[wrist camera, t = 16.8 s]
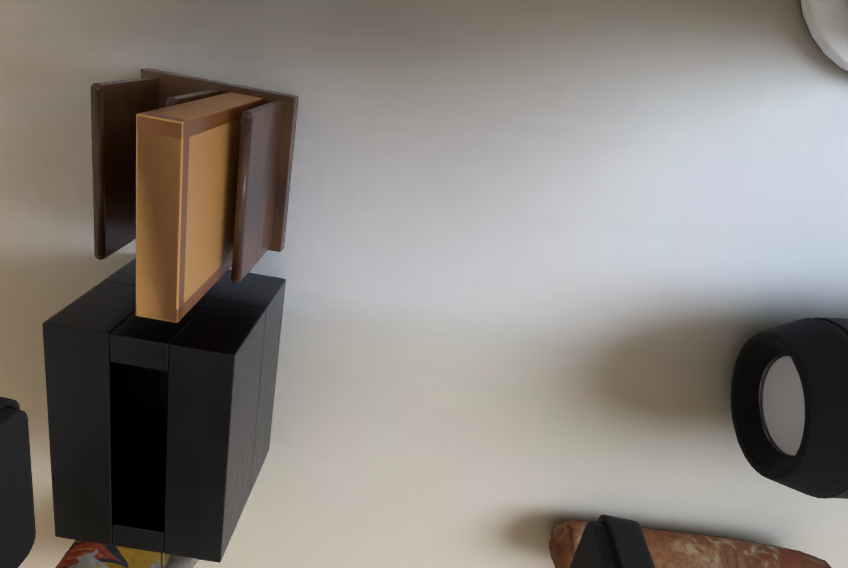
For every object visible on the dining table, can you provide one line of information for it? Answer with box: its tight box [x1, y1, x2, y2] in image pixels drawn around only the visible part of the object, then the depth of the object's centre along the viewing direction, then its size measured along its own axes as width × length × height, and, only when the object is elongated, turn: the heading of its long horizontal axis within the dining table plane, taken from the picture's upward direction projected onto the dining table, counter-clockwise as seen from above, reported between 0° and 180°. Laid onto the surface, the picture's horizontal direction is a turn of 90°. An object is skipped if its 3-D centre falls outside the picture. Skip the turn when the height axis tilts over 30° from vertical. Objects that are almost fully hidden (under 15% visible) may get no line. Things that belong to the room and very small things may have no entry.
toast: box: [136, 92, 263, 323], centre depth 30 cm, size 8×2×11 cm, turn 170°
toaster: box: [43, 258, 286, 562], centre depth 36 cm, size 13×10×10 cm
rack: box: [91, 69, 298, 283], centre depth 32 cm, size 9×8×7 cm
